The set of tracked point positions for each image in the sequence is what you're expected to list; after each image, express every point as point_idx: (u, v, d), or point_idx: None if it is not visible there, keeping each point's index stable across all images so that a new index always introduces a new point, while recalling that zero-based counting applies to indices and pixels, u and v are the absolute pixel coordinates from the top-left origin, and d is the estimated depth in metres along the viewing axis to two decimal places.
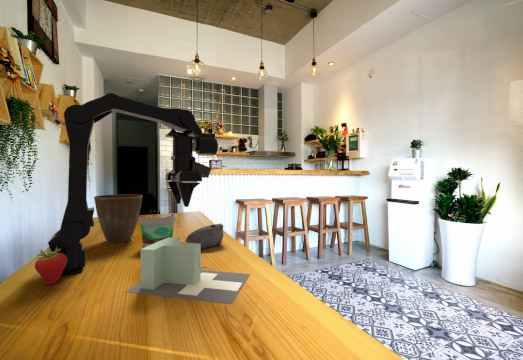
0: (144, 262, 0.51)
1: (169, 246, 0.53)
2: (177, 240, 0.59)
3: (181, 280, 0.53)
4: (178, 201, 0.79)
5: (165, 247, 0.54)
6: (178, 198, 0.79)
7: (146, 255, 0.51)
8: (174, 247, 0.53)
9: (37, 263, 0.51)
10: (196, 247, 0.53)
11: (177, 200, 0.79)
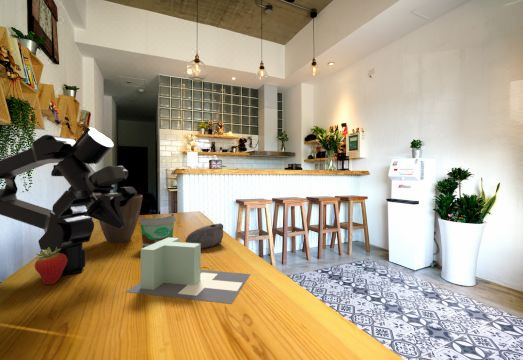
0: (144, 262, 0.51)
1: (169, 246, 0.53)
2: (177, 240, 0.59)
3: (181, 280, 0.53)
4: None
5: (165, 247, 0.54)
6: None
7: (146, 255, 0.51)
8: (174, 247, 0.53)
9: (37, 263, 0.51)
10: (196, 247, 0.53)
11: None
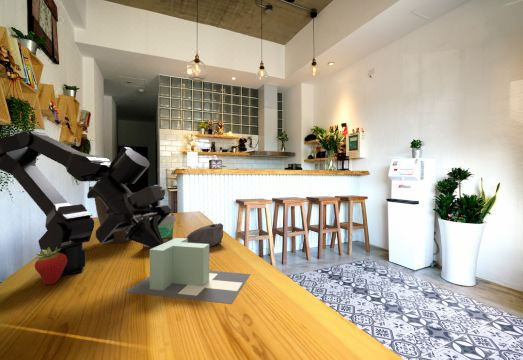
0: (153, 262, 0.50)
1: (178, 246, 0.53)
2: (185, 240, 0.59)
3: (190, 281, 0.53)
4: None
5: (174, 248, 0.53)
6: None
7: (155, 256, 0.50)
8: (183, 247, 0.53)
9: (37, 263, 0.51)
10: (205, 247, 0.53)
11: None
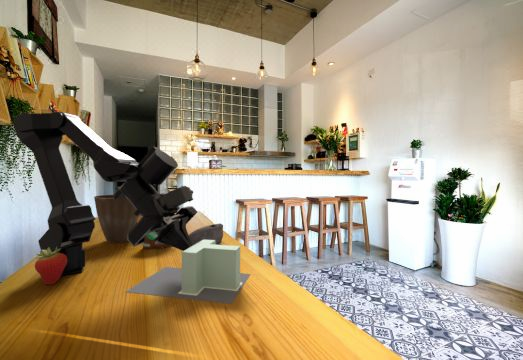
0: (185, 265, 0.49)
1: (209, 249, 0.52)
2: (213, 242, 0.57)
3: (221, 284, 0.51)
4: None
5: (205, 250, 0.52)
6: None
7: (187, 258, 0.49)
8: (214, 250, 0.51)
9: (37, 263, 0.51)
10: (237, 250, 0.51)
11: None
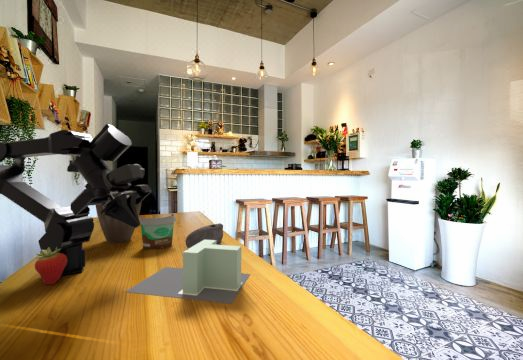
0: (186, 265, 0.49)
1: (210, 249, 0.52)
2: (214, 242, 0.57)
3: (222, 284, 0.51)
4: None
5: (206, 250, 0.52)
6: None
7: (188, 258, 0.49)
8: (215, 250, 0.51)
9: (37, 263, 0.51)
10: (238, 250, 0.51)
11: None
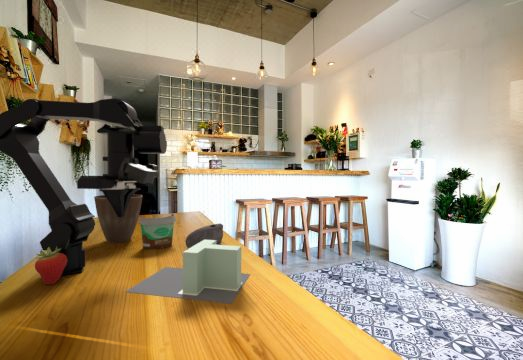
0: (186, 265, 0.49)
1: (210, 249, 0.52)
2: (214, 242, 0.57)
3: (222, 284, 0.51)
4: None
5: (206, 250, 0.52)
6: None
7: (188, 258, 0.49)
8: (215, 250, 0.51)
9: (37, 263, 0.51)
10: (238, 250, 0.51)
11: None
